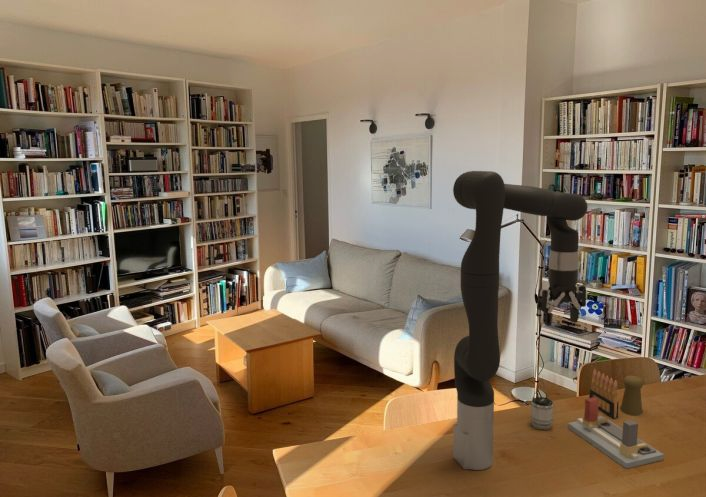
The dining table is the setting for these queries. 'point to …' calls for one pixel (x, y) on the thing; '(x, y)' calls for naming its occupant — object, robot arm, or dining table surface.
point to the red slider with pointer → (592, 413)
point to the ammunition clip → (605, 394)
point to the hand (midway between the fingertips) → (560, 323)
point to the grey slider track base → (618, 442)
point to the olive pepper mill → (632, 396)
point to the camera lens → (542, 413)
